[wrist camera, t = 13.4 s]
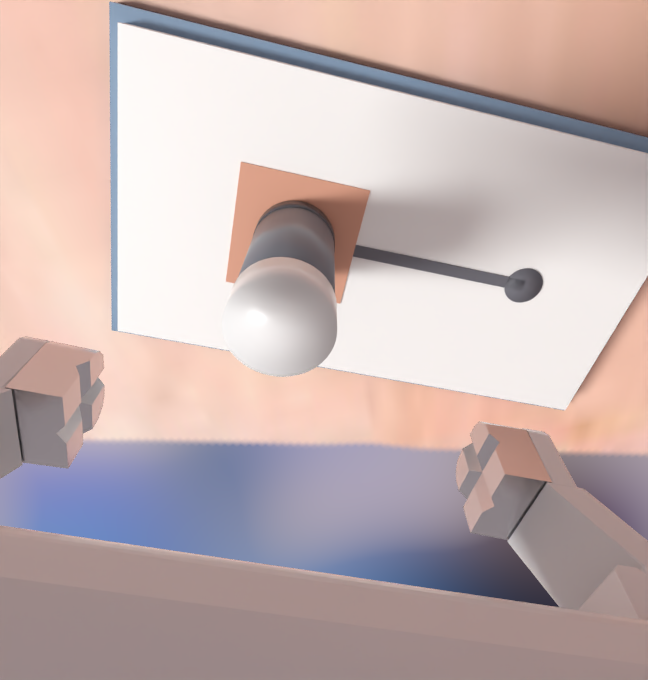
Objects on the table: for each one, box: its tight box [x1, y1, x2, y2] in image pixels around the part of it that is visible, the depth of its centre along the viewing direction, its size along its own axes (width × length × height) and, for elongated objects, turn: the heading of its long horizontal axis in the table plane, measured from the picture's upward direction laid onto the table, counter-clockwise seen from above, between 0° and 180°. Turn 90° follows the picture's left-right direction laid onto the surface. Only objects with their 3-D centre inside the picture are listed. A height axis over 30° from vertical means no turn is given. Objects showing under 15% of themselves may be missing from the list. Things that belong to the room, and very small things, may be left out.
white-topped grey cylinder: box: [222, 200, 337, 377], centre depth 17 cm, size 3×3×7 cm
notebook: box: [109, 2, 648, 410], centre depth 21 cm, size 23×13×1 cm, turn 78°
